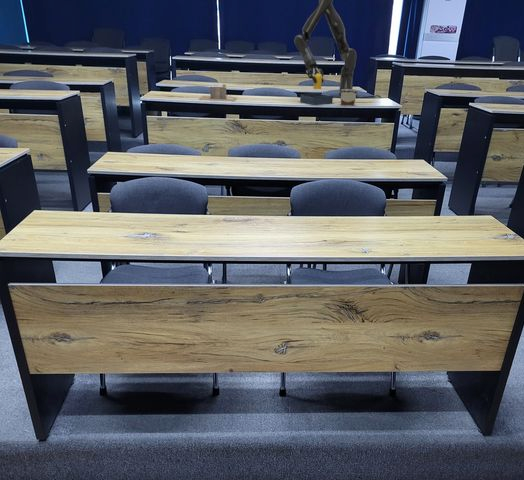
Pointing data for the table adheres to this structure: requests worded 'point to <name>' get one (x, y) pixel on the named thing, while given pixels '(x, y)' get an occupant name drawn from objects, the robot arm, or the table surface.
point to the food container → (348, 97)
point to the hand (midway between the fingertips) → (319, 82)
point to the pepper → (318, 81)
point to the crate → (316, 99)
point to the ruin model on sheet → (218, 94)
